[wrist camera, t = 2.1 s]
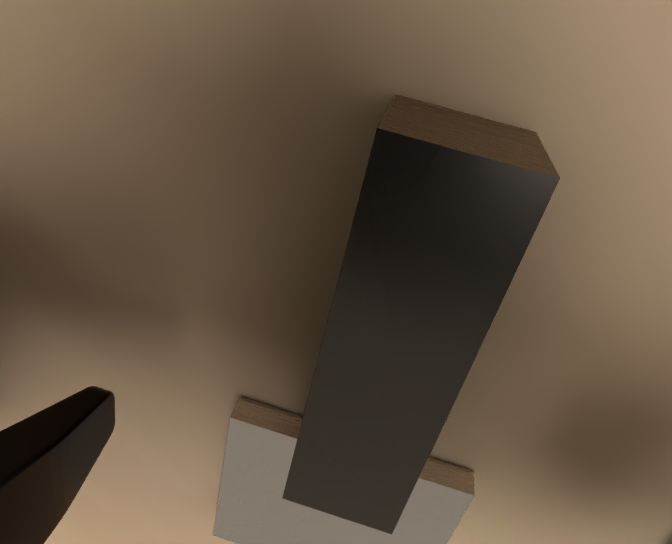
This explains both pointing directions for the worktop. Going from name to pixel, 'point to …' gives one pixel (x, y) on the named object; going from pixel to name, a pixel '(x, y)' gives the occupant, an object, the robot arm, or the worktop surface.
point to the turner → (394, 341)
